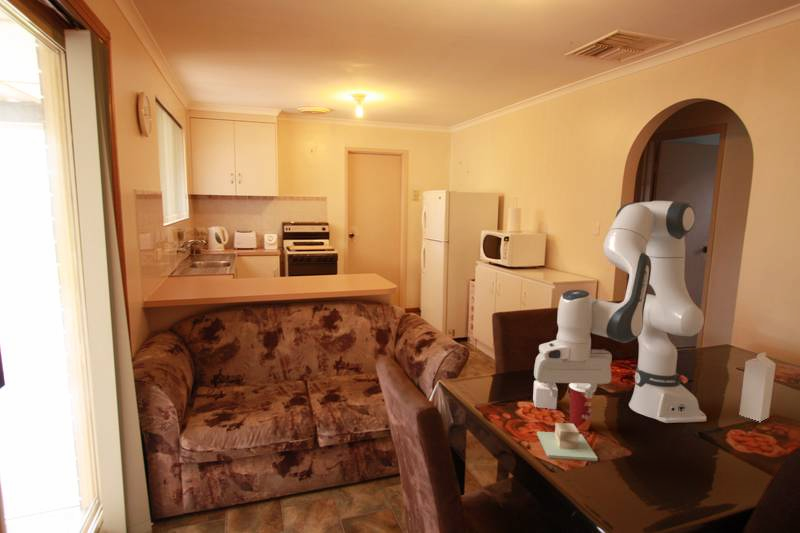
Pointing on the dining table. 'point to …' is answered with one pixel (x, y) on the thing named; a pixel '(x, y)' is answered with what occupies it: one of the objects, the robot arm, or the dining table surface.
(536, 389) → the medicine bottle
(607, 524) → the dining table surface
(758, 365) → the milk
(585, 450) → the board
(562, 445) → the cube
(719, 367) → the dining table surface
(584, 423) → the paper cup
